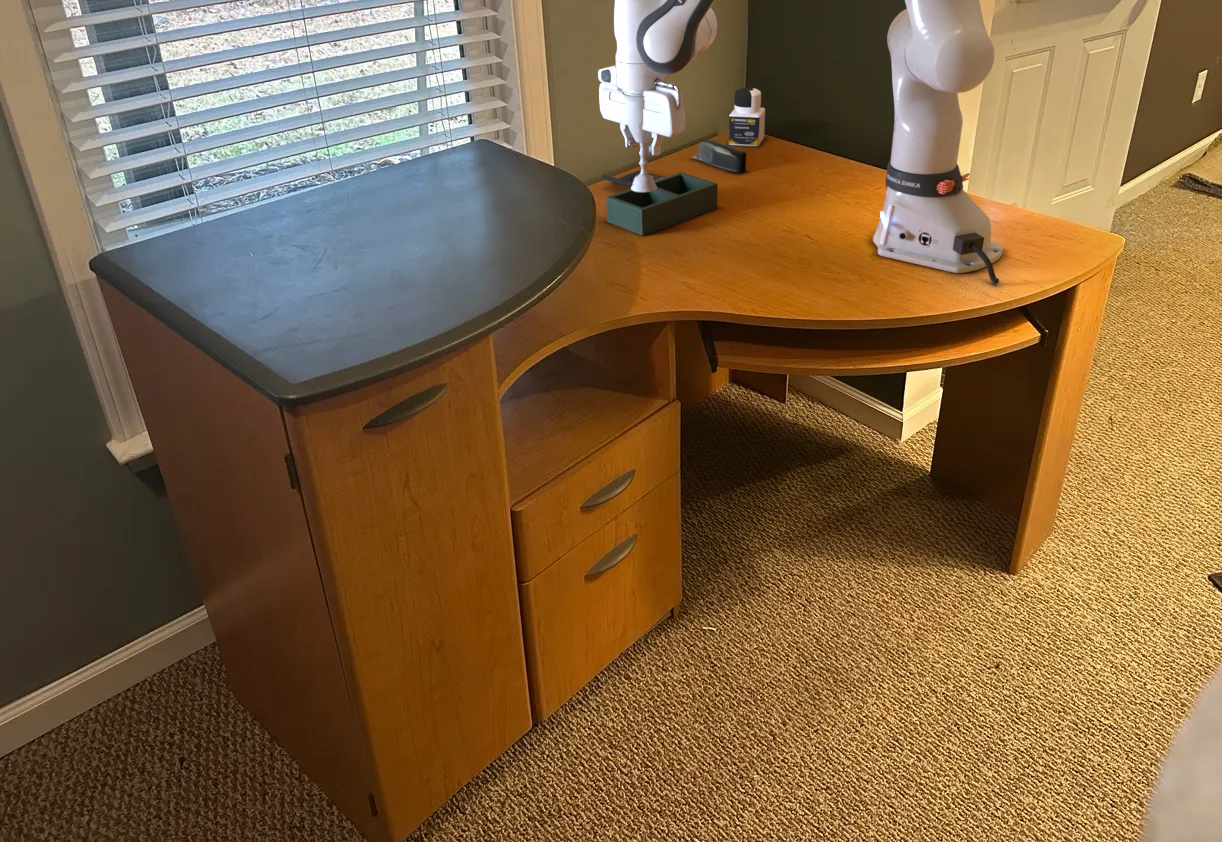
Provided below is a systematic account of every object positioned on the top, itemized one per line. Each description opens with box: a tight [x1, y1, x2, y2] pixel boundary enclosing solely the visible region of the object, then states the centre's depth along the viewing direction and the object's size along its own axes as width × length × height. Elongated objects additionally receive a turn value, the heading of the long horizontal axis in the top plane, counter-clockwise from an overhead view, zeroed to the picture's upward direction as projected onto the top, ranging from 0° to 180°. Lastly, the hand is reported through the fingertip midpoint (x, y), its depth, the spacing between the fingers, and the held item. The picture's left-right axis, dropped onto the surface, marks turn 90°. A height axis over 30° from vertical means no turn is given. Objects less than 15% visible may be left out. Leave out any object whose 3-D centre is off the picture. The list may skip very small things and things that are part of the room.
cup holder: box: [605, 171, 719, 237], centre depth 193 cm, size 10×20×5 cm, turn 130°
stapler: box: [692, 139, 747, 174], centre depth 217 cm, size 5×3×15 cm
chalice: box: [622, 91, 657, 192], centre depth 184 cm, size 7×7×18 cm
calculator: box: [601, 169, 666, 188], centre depth 209 cm, size 9×12×3 cm
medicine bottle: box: [728, 87, 766, 147], centre depth 229 cm, size 7×7×12 cm
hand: (642, 151), depth 185 cm, fingers closed on chalice, 5 cm apart
